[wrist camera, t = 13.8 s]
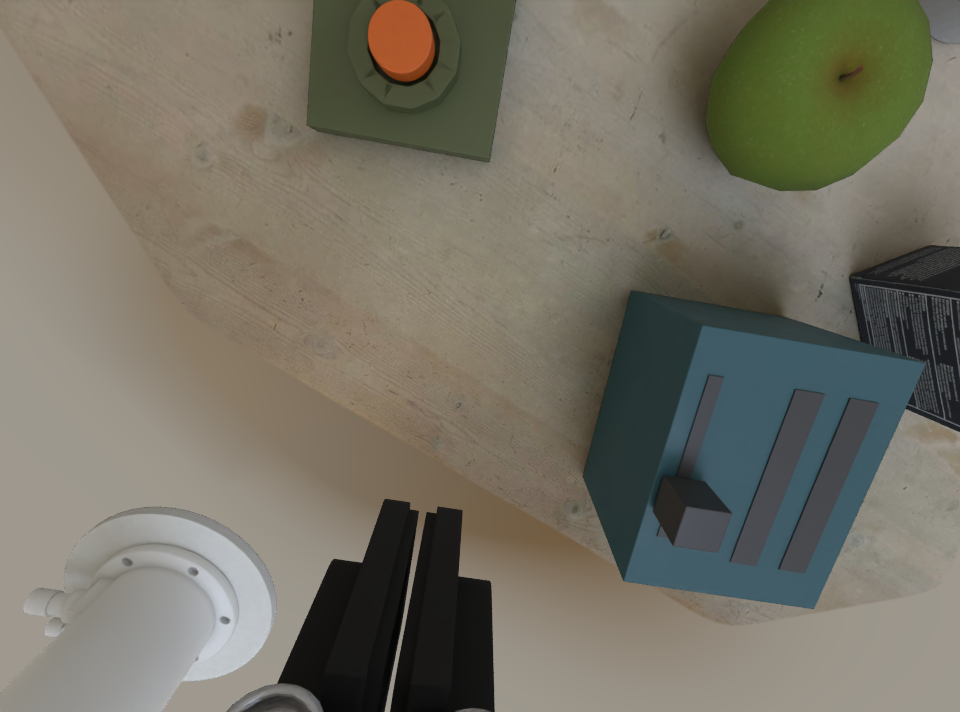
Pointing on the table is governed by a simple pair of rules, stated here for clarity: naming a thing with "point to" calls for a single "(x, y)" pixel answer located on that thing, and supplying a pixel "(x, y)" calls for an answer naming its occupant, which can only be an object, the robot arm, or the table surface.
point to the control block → (415, 104)
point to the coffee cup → (943, 19)
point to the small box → (917, 323)
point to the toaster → (741, 443)
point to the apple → (818, 89)
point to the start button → (401, 40)
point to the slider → (691, 514)
